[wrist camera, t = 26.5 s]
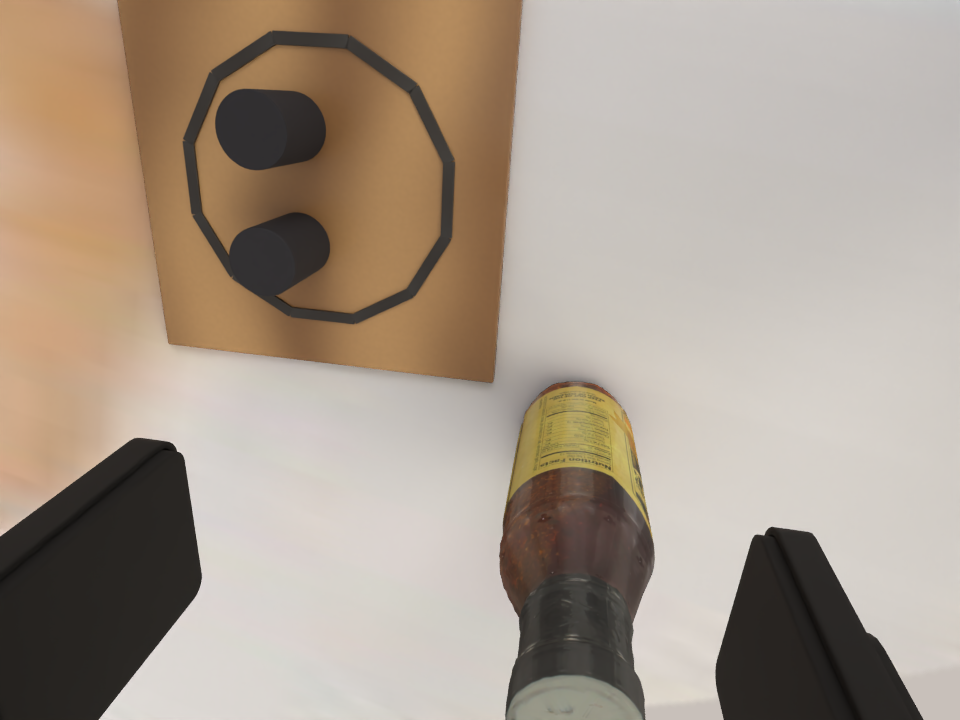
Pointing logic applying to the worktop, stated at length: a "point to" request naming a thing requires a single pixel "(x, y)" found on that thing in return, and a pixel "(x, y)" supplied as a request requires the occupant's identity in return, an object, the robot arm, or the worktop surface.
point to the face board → (335, 174)
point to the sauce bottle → (575, 558)
